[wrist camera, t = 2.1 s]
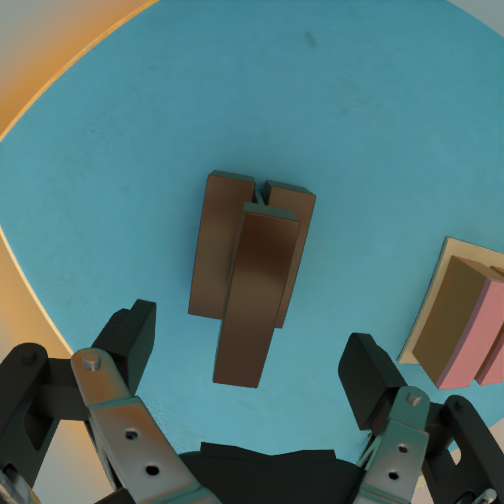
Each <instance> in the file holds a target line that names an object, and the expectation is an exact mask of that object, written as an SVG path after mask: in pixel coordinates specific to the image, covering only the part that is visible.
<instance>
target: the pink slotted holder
mask: <svg viewBox="0 0 504 504" xmlns="http://www.w3.org/2000/svg"><path fill="white" fill-rule="evenodd" d="M397 362H398V363H399V364H420V365H421V366H422V368H423V369H424V370H425V372H426V373H427V375H428V376H429V377H430V379H431V380H432V382H433V383H434V385H435V386H436V387H437V389H438V390H442V389H453V388H463V387H468V386H469V385H470V383H471V382H472V380H473V378H474V379H475V380H476V381H477V382H478V384H479V385H487V384H494V383H501V382H503V380H504V254H502V253H499V252H496V251H493V250H489V249H486V248H483V247H480V246H477V245H473V244H470V243H467V242H464V241H460V240H457V239H454V238H450V237H446V239H445V243H444V246H443V249H442V252H441V255H440V258H439V261H438V264H437V267H436V270H435V273H434V276H433V278H432V281H431V284H430V286H429V289H428V292H427V294H426V297H425V299H424V302H423V304H422V307H421V309H420V312H419V314H418V316H417V319H416V321H415V323H414V326H413V328H412V330H411V332H410V335H409V337H408V339H407V341H406V343H405V345H404V348H403V350H402V352H401V354H400V356H399V358H398V360H397Z"/></svg>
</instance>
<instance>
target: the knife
mask: <svg viewBox="0 0 504 504" xmlns="http://www.w3.org/2000/svg"><path fill="white" fill-rule="evenodd" d="M300 226H301V222H300V220H299V219H298V218H297V217H296V215H295V214H294V213H293V211H291V210H286V209H281V208H276V207H271V206H266V205H265V203H264V201H263V199H262V196H261V194H260V192H258V191H255V192H254V197H253V202H252V203H250V202H244V203H243V206H242V211H241V216H240V221H239V227H238V232H237V237H236V242H235V248H234V253H233V259H232V264H231V269H230V275H229V280H228V286H227V291H226V297H225V303H224V308H223V314H222V319H221V325H220V331H219V337H218V342H217V348H216V354H215V362H214V371H213V380H212V381H213V382H214V383H220V384H226V385H234V386H241V387H249V388H257V387H258V385H259V381H260V378H261V374H262V371H263V367H264V364H265V360H266V357H267V353H268V350H269V346H270V343H271V339H272V335H273V332H274V328H275V324H276V321H277V317H278V313H279V309H280V306H281V302H282V298H283V294H284V290H285V287H286V283H287V279H288V275H289V271H290V267H291V263H292V259H293V255H294V251H295V247H296V243H297V238H298V234H299V230H300Z"/></svg>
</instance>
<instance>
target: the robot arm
mask: <svg viewBox="0 0 504 504" xmlns="http://www.w3.org/2000/svg"><path fill="white" fill-rule="evenodd" d="M155 323H156V303H155V302H150V301H146V300H141V299H137V300H136V302H135V304H134V305H133V307H132V308H131V310H129V309H124V308H123V309H121V310H119V311H117V312H116V313H114V314H113V315H112V317H111V318H110V320H109V322H107V324H106V325H105V328H103V330H102V331H101V333H100V334H99V336H98V337H97V339H96V340H95V341H94V343H93V344H92V346H91V347H90V348H84V349H81V350H78V351H77V352H75V353H74V354H73V355H72V357H71V359H56V358H48V354H47V351H46V349H45V348H44V347H43V346H41V345H39V344H36V343H23V344H20V345H17V346H16V347H14V348H13V349H12V350H11V352H10V353H9V354H8V355H7V357H6V358H5V359H4V360H3V362H2V363H1V364H0V504H41V502H40V500H39V499H38V497H37V496H36V494H35V493H34V492H33V490H32V488H33V486H34V483H35V480H36V478H37V475H38V472H39V470H40V467H41V465H42V462H43V460H44V457H45V455H46V452H47V450H48V447H49V445H50V443H51V440H52V438H53V436H54V433H55V431H56V429H57V427H58V424H59V422H60V420H61V419H63V420H77V421H83V422H84V424H85V426H86V429H87V432H88V434H89V437H90V439H91V441H92V444H93V446H94V448H95V450H96V453H97V455H98V457H99V459H100V462H101V464H102V466H103V469H104V471H105V474H106V476H107V478H108V480H109V483H110V484H111V486H112V488H113V490H114V492H113V493H112V494H110V495H108V496H107V497H105V498H103V499H101V500H100V501H98V502H96V503H94V504H411V499H412V497H413V493H414V490H415V487H416V484H417V481H418V478H419V474H420V471H422V473H423V476H424V478H425V481H426V484H427V486H428V489H429V491H430V494H431V497H432V499H433V502H434V504H504V454H503V452H502V450H501V449H500V447H499V445H498V444H497V442H496V441H495V439H494V437H493V436H492V434H491V433H490V431H489V429H488V428H487V426H486V425H485V423H484V422H483V420H482V419H481V417H480V416H479V414H478V413H477V411H476V410H475V408H474V407H473V405H472V404H471V402H470V401H468V400H467V399H466V398H464V397H462V396H459V395H451V396H449V397H448V398H447V400H446V401H445V403H444V404H438V403H433V402H430V399H429V397H428V395H427V394H426V393H425V392H424V391H422V390H421V389H419V388H417V387H414V386H408V385H407V383H406V382H405V380H404V378H403V377H402V375H401V374H400V372H399V371H398V369H397V368H396V366H395V364H394V363H393V362H392V360H391V358H390V356H389V355H388V353H387V352H386V351H384V350H383V349H382V348H381V347H380V346H377V344H376V342H375V341H374V339H373V338H372V336H371V335H370V334H365V333H352V334H351V335H350V337H349V340H348V342H347V345H346V347H345V350H344V352H343V354H342V357H341V359H340V362H339V366H338V375H339V378H340V380H341V383H342V385H343V388H344V390H345V393H346V395H347V398H348V401H349V403H350V406H351V408H352V411H353V414H354V416H355V419H356V421H357V424H358V427H359V429H360V431H362V430H372V432H373V433H372V434H371V436H370V437H369V439H368V441H367V443H366V445H365V447H364V449H363V451H362V453H361V455H360V456H359V458H358V460H357V462H356V464H353V463H350V462H347V461H344V460H340V459H336V456H335V452H334V450H301V451H296V452H291V453H285V454H280V455H273V456H272V455H266V454H262V453H258V452H254V451H251V450H247V449H244V448H240V447H237V446H230V445H221V444H213V443H206V442H201V447H200V451H192V452H185V453H182V454H177V453H176V452H175V450H174V449H173V447H172V446H171V444H170V443H169V442H168V440H167V439H166V437H165V436H164V434H163V433H162V431H161V430H160V428H159V427H158V425H157V424H156V422H155V420H154V419H153V417H152V416H151V414H150V412H149V411H148V409H147V408H146V406H145V404H144V403H143V401H142V400H141V398H140V397H139V396H135V393H136V390H137V388H138V385H139V382H140V380H141V377H142V375H143V372H144V370H145V367H146V364H147V362H148V359H149V357H150V354H151V352H152V349H153V345H154V339H155ZM454 439H455V441H456V443H457V445H458V447H459V449H460V451H461V459H460V461H459V463H458V464H457V465H455V463H454V461H453V459H452V457H451V454H450V452H449V450H448V447H449V446H450V444H451V443H452V442H453V441H454Z"/></svg>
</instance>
